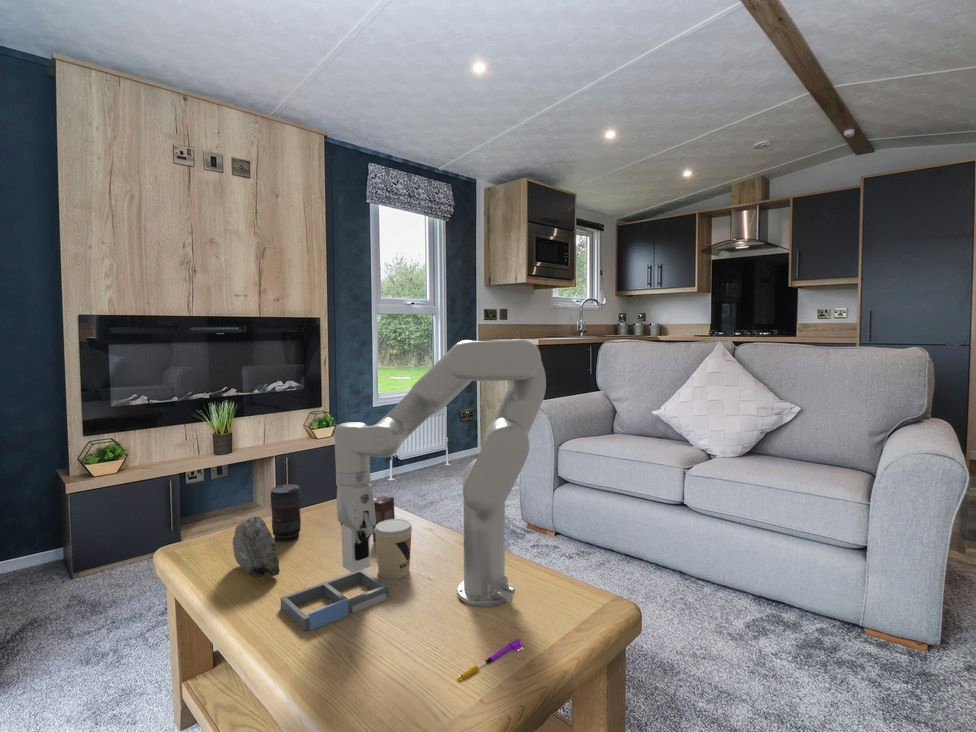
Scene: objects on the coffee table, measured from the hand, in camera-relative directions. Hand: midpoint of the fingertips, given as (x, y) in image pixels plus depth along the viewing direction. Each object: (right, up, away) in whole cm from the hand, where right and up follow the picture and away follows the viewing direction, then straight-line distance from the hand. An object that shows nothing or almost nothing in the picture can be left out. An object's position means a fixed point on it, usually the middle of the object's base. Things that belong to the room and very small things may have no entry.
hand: (356, 554), depth 120 cm
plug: (0, -3, 0) cm, 3 cm away
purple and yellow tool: (+31, -12, -24) cm, 41 cm away
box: (0, -8, +33) cm, 33 cm away
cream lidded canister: (+6, -9, +13) cm, 17 cm away
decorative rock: (-28, -9, +11) cm, 32 cm away
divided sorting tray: (-4, -10, -3) cm, 11 cm away
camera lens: (-29, -8, +34) cm, 45 cm away
